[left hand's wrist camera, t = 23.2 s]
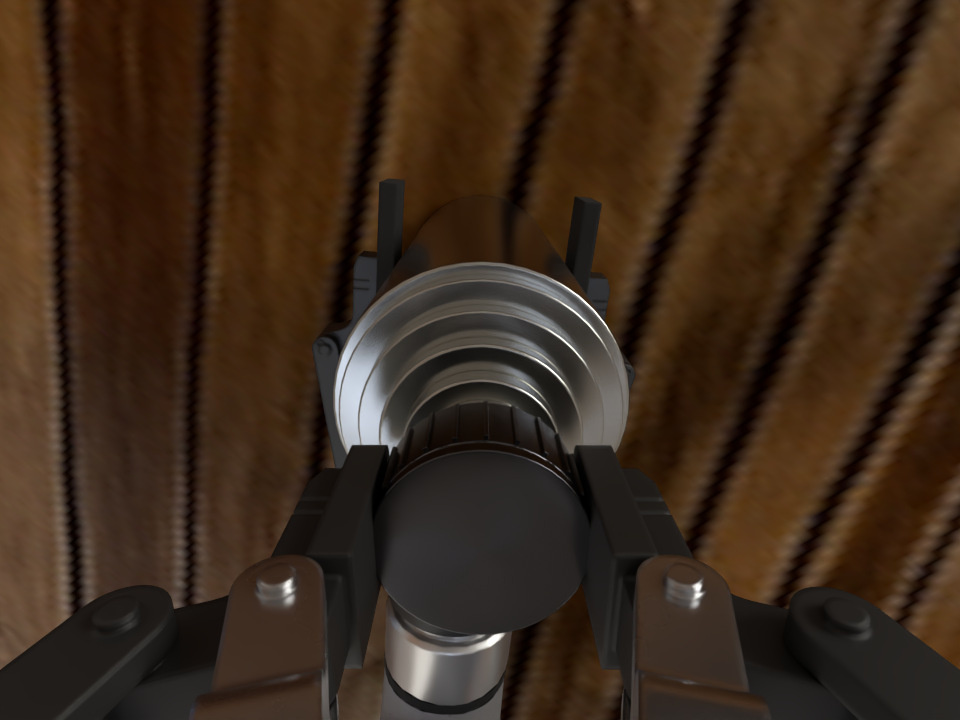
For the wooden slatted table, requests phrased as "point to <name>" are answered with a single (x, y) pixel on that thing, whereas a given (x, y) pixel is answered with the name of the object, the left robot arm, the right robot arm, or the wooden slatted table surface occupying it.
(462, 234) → the bottle
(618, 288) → the wooden slatted table surface
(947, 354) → the wooden slatted table surface
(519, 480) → the cap
